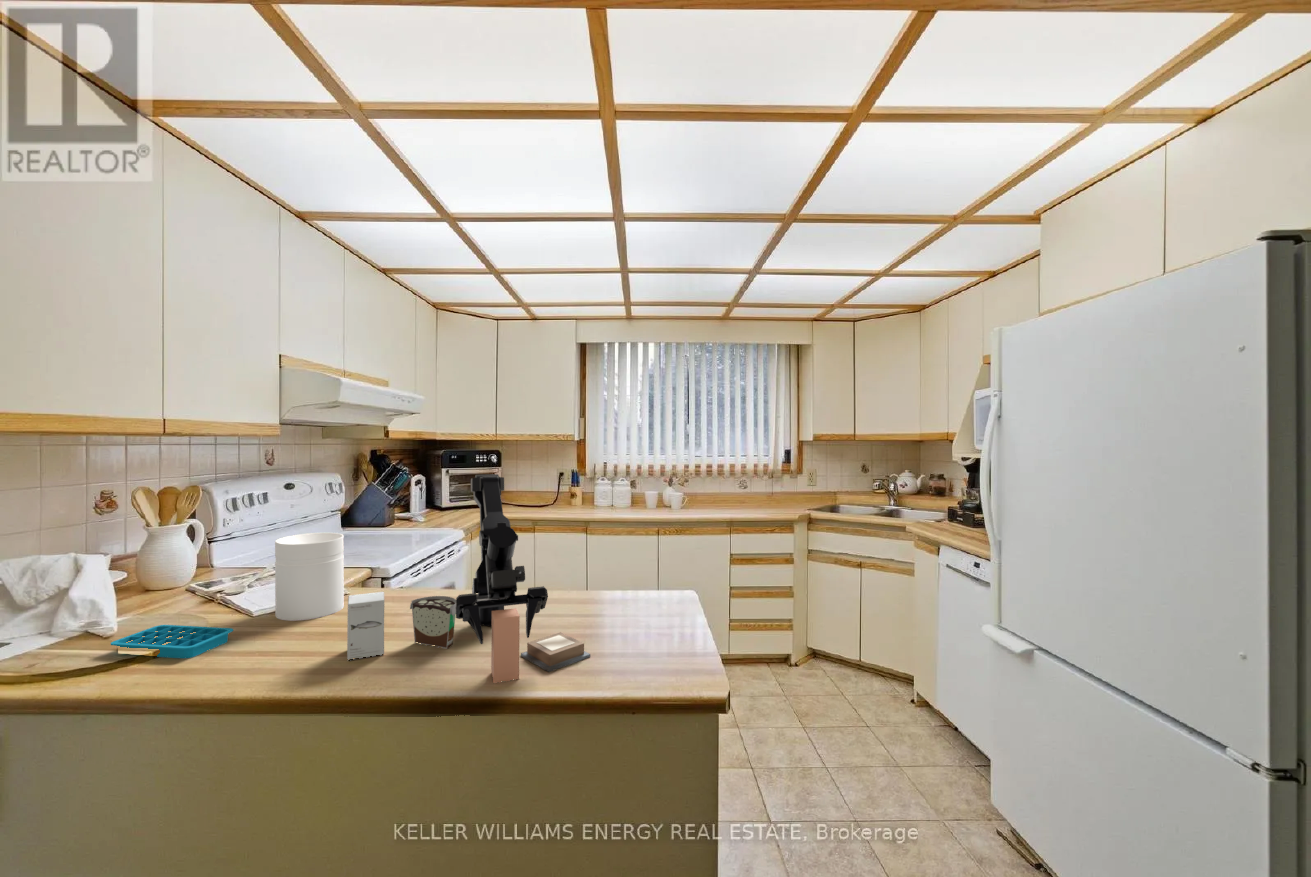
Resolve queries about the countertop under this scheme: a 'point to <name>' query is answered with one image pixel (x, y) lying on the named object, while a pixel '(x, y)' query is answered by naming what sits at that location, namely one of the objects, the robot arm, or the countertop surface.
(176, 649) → the ice cube tray
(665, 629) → the countertop surface
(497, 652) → the terracotta block
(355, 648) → the supplement box
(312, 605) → the canister
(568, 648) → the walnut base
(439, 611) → the food container
